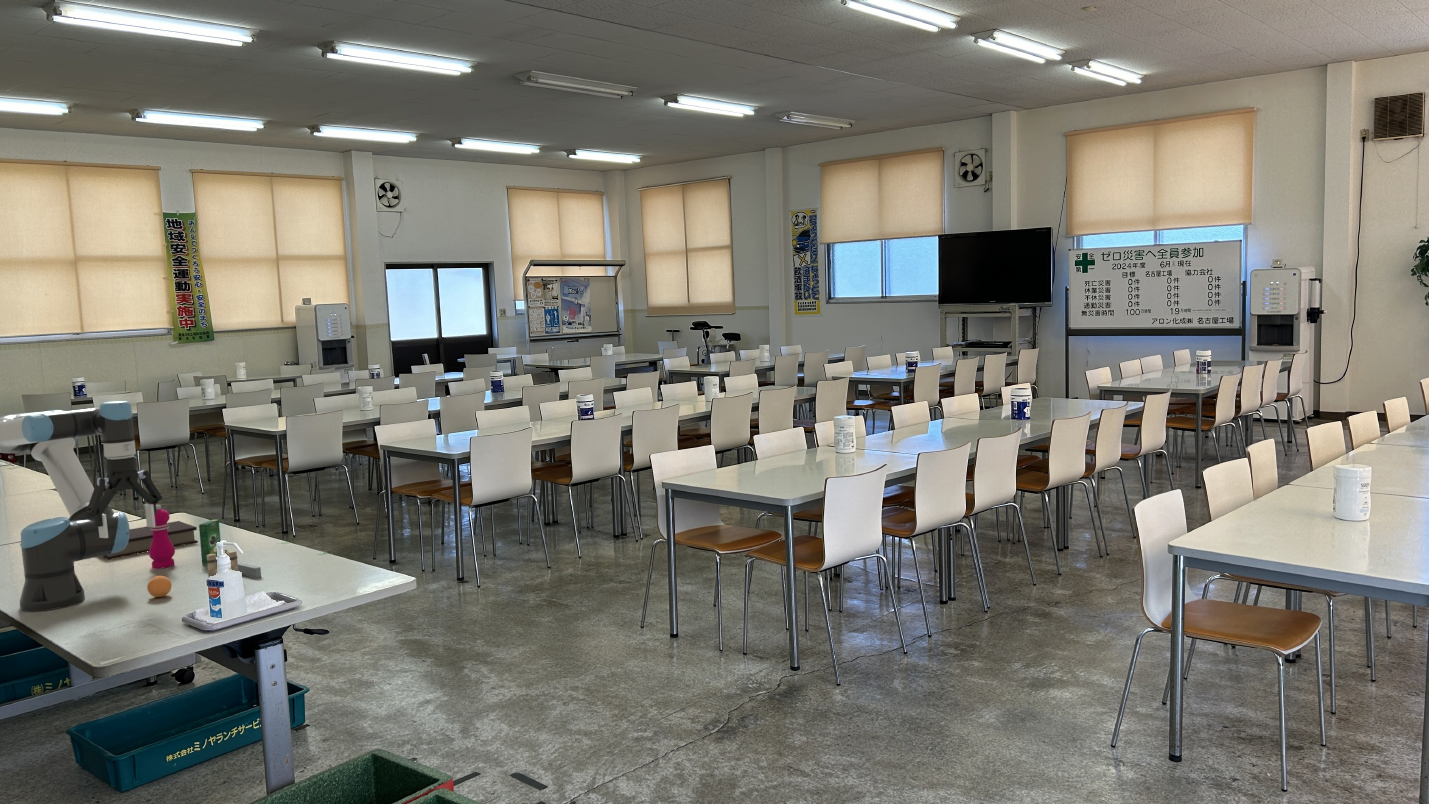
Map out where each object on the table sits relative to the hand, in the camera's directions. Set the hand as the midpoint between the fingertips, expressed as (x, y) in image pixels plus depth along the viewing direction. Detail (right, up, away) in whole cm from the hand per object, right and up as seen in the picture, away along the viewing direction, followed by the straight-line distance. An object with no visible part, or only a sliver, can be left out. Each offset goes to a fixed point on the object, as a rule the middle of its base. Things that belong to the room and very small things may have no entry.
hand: (128, 532), depth 276 cm
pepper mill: (-12, -16, +39) cm, 44 cm away
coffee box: (+1, -15, +43) cm, 46 cm away
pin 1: (+16, -17, +23) cm, 32 cm away
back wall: (+21, -16, +26) cm, 37 cm away
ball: (+6, -16, +4) cm, 18 cm away
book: (-34, -15, +68) cm, 78 cm away
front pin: (+15, -17, +17) cm, 29 cm away
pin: (+20, -17, +20) cm, 33 cm away
